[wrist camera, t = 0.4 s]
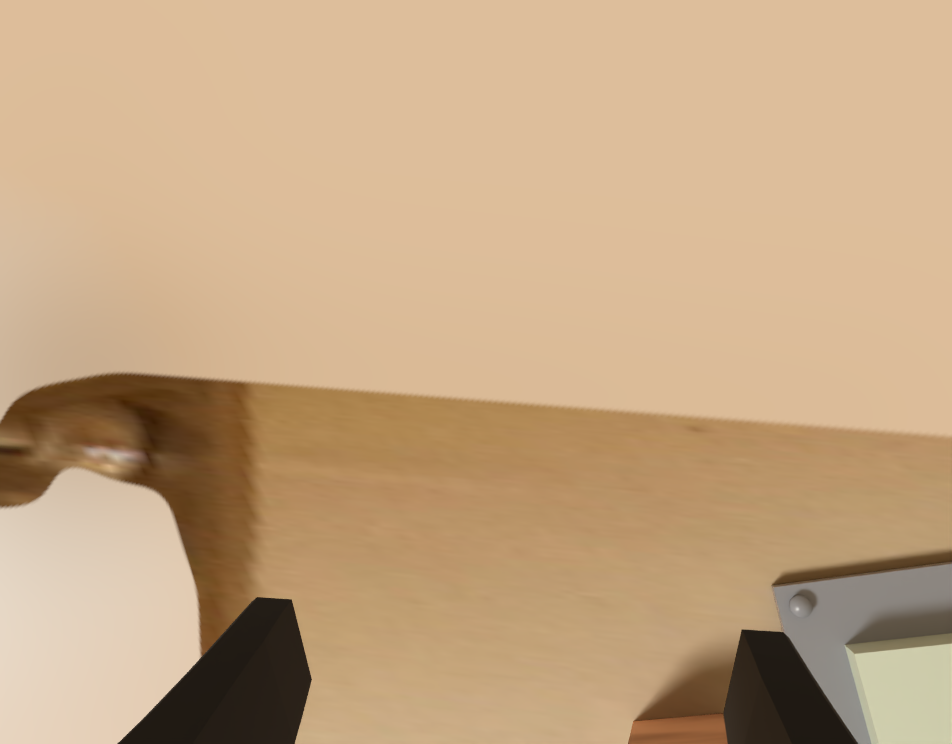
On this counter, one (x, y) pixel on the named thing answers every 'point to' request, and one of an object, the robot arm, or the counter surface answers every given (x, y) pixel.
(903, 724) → the sage brick
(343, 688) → the counter surface
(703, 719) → the rust block
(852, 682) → the baseplate
